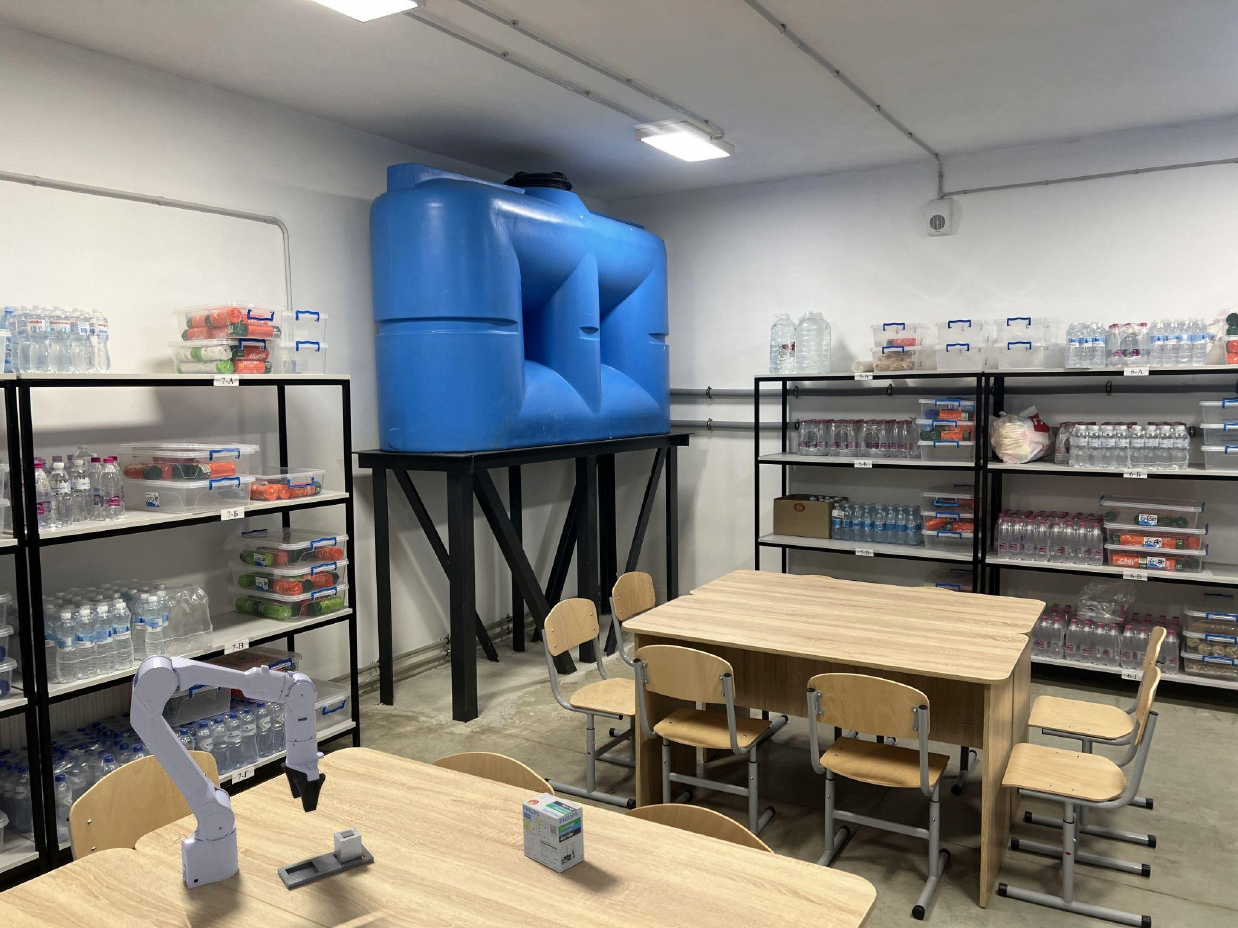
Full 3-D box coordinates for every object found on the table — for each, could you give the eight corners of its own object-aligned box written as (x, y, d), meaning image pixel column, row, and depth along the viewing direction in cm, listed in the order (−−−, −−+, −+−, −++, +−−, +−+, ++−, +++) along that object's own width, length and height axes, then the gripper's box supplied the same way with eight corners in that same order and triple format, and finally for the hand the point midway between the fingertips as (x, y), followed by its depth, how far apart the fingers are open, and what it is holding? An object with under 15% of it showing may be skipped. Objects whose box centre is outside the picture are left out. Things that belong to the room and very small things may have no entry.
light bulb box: (585, 860, 173) (584, 806, 172) (560, 874, 168) (558, 818, 167) (547, 842, 180) (546, 790, 179) (522, 855, 175) (520, 801, 175)
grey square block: (341, 866, 170) (340, 840, 170) (334, 858, 173) (333, 832, 173) (362, 860, 173) (361, 833, 172) (355, 851, 176) (354, 826, 175)
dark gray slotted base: (288, 894, 163) (288, 884, 163) (278, 877, 169) (277, 868, 169) (374, 866, 172) (373, 856, 172) (361, 851, 178) (361, 842, 178)
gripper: (333, 742, 172) (336, 811, 173) (310, 721, 184) (313, 785, 185) (296, 751, 168) (299, 821, 169) (275, 729, 180) (278, 794, 181)
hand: (304, 803), depth 177 cm, fingers open, 7 cm apart
